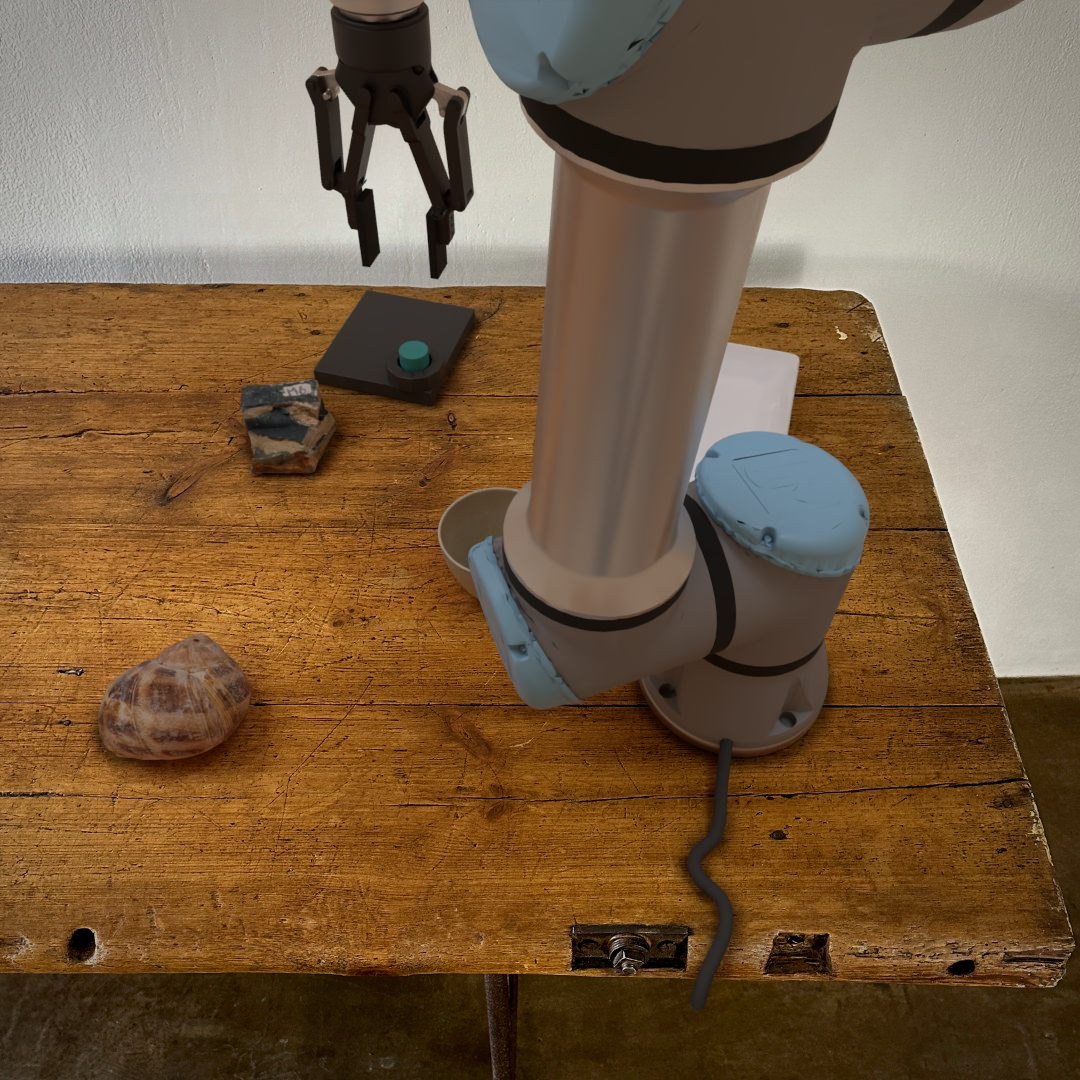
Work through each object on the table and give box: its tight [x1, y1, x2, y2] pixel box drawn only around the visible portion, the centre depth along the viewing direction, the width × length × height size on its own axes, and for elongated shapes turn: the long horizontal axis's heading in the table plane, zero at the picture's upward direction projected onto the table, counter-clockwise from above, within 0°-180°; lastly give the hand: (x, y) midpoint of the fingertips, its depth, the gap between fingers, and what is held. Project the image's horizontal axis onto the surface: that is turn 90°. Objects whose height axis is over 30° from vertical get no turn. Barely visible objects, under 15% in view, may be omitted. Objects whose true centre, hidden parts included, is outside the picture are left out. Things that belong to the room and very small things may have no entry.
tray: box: [689, 341, 801, 482], centre depth 95 cm, size 17×32×4 cm, turn 164°
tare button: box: [399, 341, 429, 372], centre depth 100 cm, size 3×3×2 cm
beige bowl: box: [437, 486, 520, 601], centre depth 83 cm, size 10×10×7 cm
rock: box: [240, 378, 338, 475], centre depth 95 cm, size 9×9×6 cm
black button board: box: [312, 289, 476, 407], centre depth 105 cm, size 15×13×4 cm
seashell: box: [97, 633, 252, 761], centre depth 74 cm, size 10×9×10 cm
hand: (405, 264), depth 92 cm, fingers open, 6 cm apart
